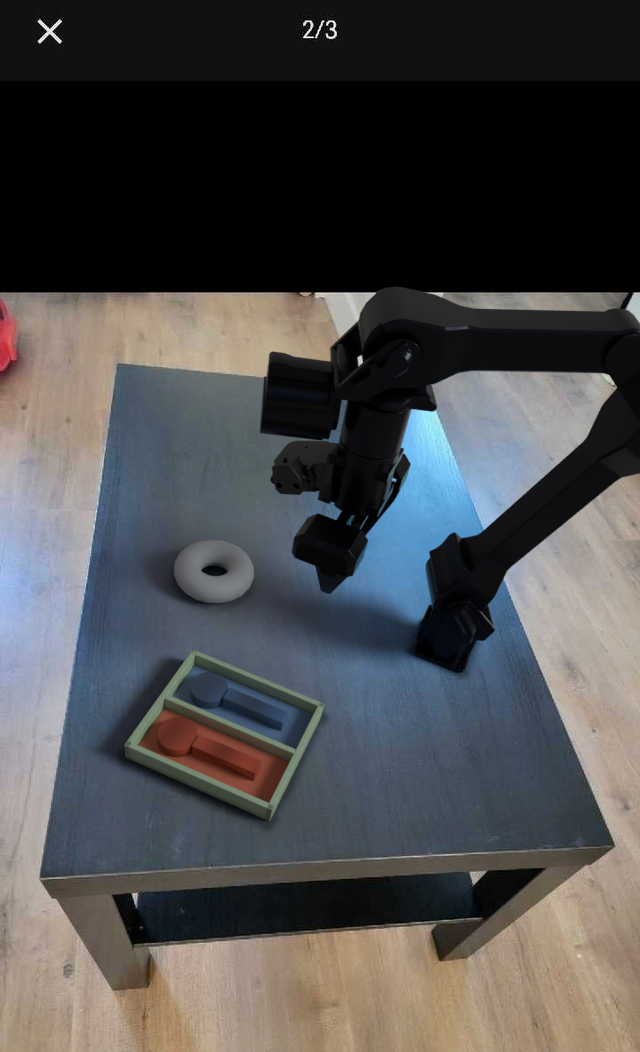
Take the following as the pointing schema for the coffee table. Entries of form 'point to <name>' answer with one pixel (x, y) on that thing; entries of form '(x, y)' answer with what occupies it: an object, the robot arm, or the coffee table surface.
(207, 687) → the blue spoon
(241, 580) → the donut
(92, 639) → the coffee table surface
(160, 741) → the red spoon
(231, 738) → the tray
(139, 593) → the coffee table surface
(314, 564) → the robot arm
